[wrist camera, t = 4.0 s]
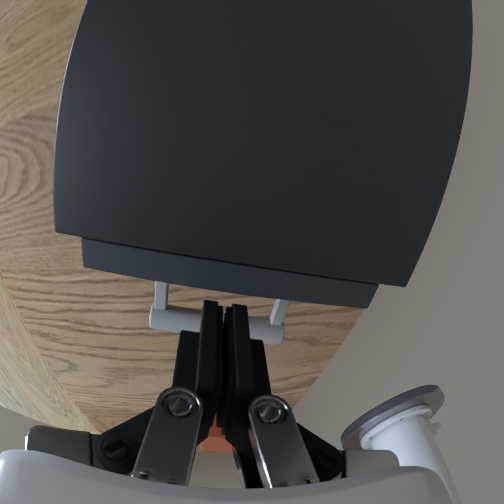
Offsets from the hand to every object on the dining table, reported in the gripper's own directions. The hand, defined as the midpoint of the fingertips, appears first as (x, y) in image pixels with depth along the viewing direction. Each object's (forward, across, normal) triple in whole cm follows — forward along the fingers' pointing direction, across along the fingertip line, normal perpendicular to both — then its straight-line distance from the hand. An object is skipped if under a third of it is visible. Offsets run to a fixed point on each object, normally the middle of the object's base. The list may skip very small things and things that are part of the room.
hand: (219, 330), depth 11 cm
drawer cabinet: (+8, 0, -11) cm, 14 cm away
